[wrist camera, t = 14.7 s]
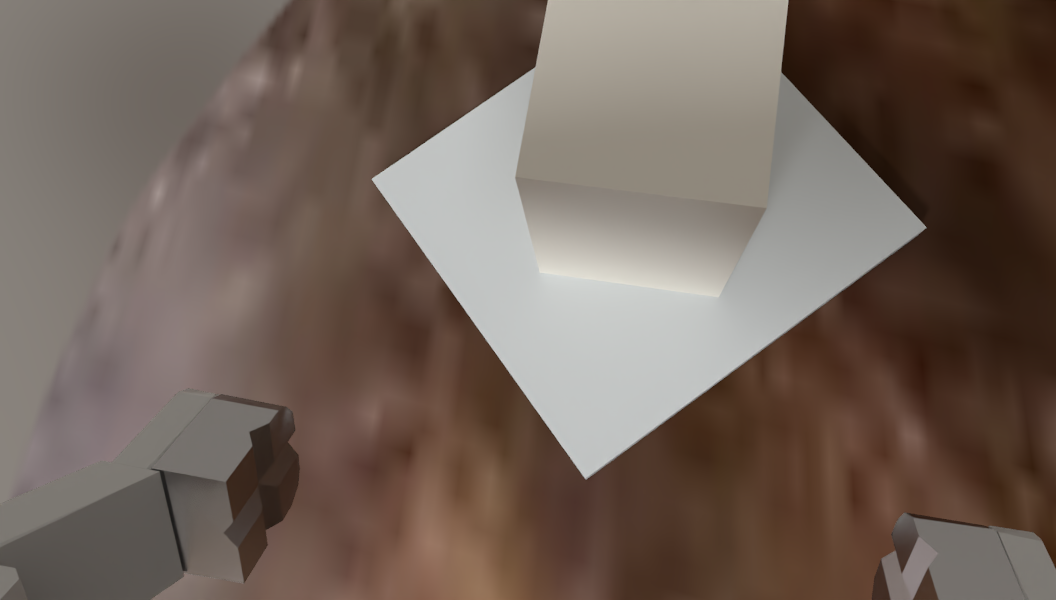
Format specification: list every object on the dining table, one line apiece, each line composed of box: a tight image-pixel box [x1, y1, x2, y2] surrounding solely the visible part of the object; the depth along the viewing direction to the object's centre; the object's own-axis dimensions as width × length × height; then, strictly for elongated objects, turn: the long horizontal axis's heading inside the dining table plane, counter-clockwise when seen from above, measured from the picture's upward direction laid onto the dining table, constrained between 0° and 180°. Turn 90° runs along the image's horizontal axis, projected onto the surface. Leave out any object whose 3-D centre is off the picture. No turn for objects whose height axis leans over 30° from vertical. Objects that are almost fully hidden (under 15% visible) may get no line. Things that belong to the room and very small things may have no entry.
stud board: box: [372, 67, 927, 480], centre depth 24 cm, size 13×12×6 cm
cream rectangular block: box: [515, 0, 788, 297], centre depth 22 cm, size 6×6×8 cm
